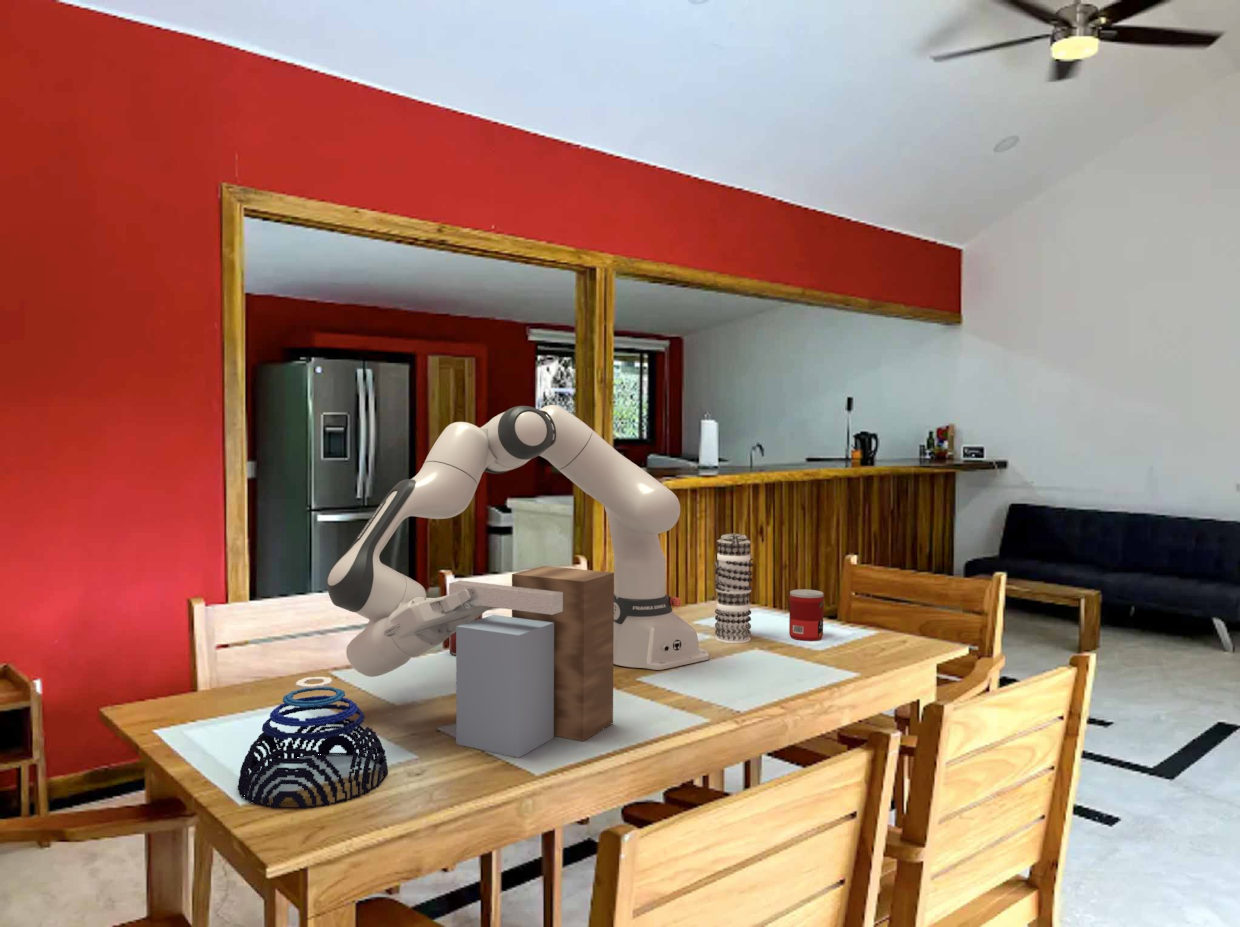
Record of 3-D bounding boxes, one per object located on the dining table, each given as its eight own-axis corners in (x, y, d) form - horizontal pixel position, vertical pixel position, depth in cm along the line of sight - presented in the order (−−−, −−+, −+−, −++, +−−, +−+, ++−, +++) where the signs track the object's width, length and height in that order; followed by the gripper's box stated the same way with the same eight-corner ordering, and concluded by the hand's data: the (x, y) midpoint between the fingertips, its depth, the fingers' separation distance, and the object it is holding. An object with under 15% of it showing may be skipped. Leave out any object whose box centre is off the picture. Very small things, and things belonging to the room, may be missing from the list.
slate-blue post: (456, 744, 145) (456, 626, 144) (493, 725, 154) (493, 614, 153) (518, 757, 139) (518, 635, 138) (553, 738, 148) (554, 622, 147)
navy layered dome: (273, 753, 141) (272, 661, 140) (401, 755, 140) (401, 663, 140) (213, 808, 121) (211, 701, 120) (362, 810, 120) (361, 703, 120)
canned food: (826, 641, 215) (826, 595, 214) (792, 641, 215) (792, 595, 214) (819, 633, 222) (820, 589, 222) (786, 633, 222) (787, 589, 222)
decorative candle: (759, 638, 217) (761, 534, 216) (738, 645, 210) (739, 538, 208) (727, 632, 223) (729, 531, 221) (705, 639, 216) (707, 534, 214)
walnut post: (511, 727, 153) (511, 574, 152) (544, 710, 162) (544, 565, 161) (583, 741, 146) (584, 581, 145) (612, 723, 155) (613, 572, 154)
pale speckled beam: (449, 601, 149) (449, 583, 149) (460, 598, 151) (460, 580, 151) (552, 614, 139) (552, 595, 139) (562, 611, 142) (562, 592, 142)
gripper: (370, 619, 145) (428, 583, 139) (451, 597, 163) (506, 565, 157) (385, 655, 144) (445, 620, 138) (465, 630, 162) (521, 598, 156)
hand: (478, 591), depth 148 cm, fingers closed on pale speckled beam, 3 cm apart
